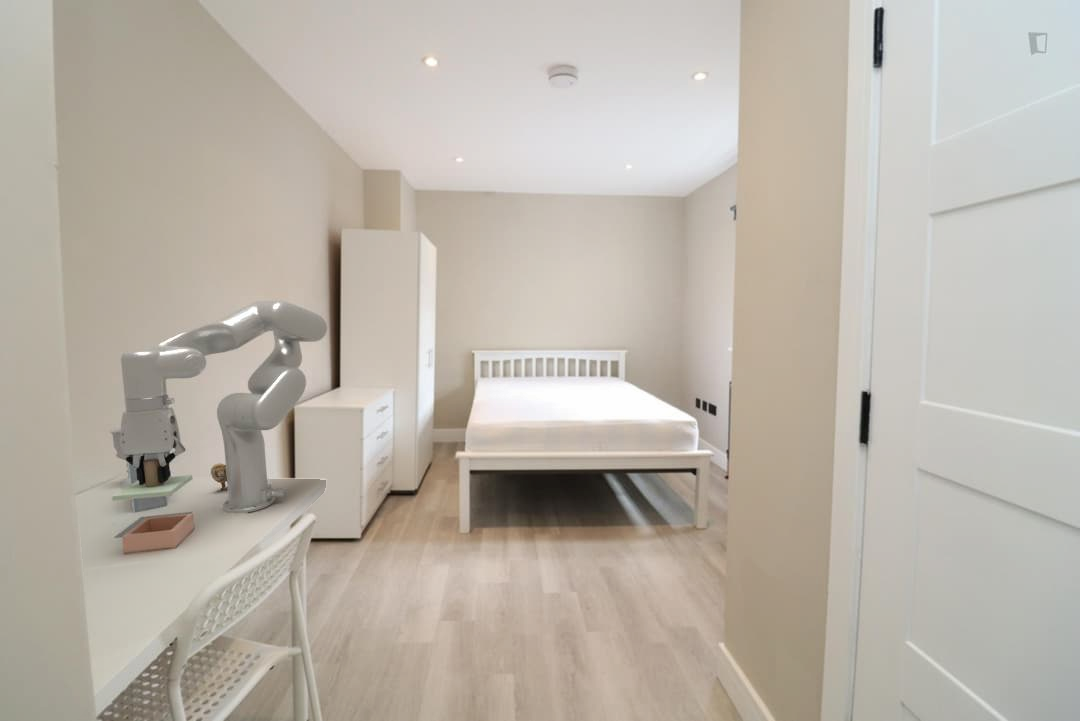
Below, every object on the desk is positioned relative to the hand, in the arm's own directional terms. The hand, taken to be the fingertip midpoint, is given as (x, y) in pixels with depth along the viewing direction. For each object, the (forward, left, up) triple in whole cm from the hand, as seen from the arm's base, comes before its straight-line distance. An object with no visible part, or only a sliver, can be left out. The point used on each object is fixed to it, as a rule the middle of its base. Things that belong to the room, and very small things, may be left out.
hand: (154, 481), depth 113 cm
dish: (0, 0, -15) cm, 15 cm away
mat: (+6, -11, -15) cm, 20 cm away
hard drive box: (+15, -29, -15) cm, 36 cm away
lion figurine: (-5, -36, -15) cm, 39 cm away
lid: (0, 0, -2) cm, 2 cm away
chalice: (+28, -46, -15) cm, 56 cm away
